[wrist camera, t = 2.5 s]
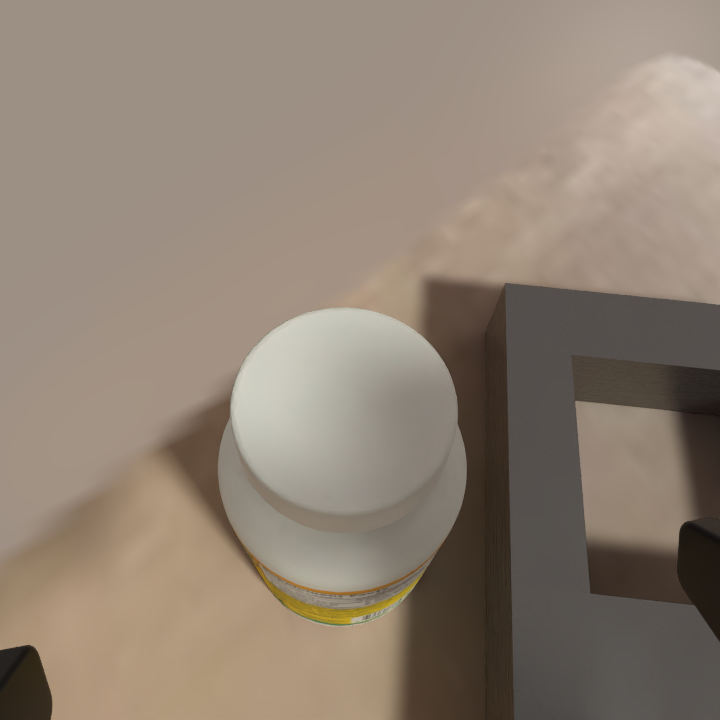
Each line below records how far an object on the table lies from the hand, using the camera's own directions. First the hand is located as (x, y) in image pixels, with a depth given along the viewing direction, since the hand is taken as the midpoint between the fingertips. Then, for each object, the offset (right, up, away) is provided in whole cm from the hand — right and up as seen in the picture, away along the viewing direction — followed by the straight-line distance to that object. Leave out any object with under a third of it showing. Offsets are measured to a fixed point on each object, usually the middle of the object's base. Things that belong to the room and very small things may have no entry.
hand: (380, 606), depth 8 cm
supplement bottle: (-1, -2, +11) cm, 11 cm away
